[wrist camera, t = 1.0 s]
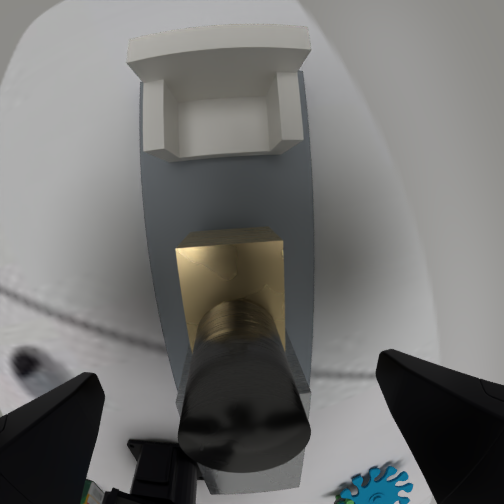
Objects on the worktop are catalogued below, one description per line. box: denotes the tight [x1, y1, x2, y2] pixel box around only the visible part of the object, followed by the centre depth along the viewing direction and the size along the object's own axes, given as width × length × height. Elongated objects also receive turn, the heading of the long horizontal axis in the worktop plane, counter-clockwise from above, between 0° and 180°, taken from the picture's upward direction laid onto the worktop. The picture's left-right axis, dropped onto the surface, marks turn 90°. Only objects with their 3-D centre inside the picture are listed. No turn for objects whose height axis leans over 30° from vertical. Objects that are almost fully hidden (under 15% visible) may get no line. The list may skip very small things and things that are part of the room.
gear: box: [334, 466, 413, 504], centre depth 22 cm, size 11×6×10 cm
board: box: [139, 71, 314, 391], centre depth 16 cm, size 24×9×1 cm, turn 3°
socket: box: [126, 24, 311, 162], centre depth 10 cm, size 4×6×6 cm, turn 93°
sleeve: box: [176, 328, 311, 494], centre depth 14 cm, size 9×5×6 cm, turn 3°
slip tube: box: [176, 226, 311, 473], centre depth 10 cm, size 14×4×9 cm, turn 3°
